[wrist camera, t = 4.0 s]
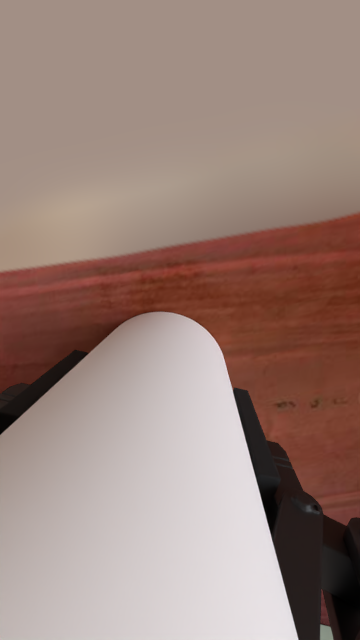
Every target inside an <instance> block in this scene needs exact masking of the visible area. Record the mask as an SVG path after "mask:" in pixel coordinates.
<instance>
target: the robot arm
mask: <svg viewBox="0 0 360 640" xmlns="http://www.w3.org/2000/svg"><path fill="white" fill-rule="evenodd" d="M87 355H88V353H87V352H83V351H79V350H74V351H73V352H72V353H70V354H69V355H68V356H67V357H65V358H64V359H63V360H62V361H60V362H59V363H58V364H56V365H55V366H54V367H53V368H51V369H50V370H49V371H48V372H46V373H45V374H44V375H42V376H41V377H40V378H39V379H37V380H36V381H35V382H34V383H32V384H31V385H28V384H24V383H20V384H17V385H14V386H11V387H9V388H8V389H6V390H5V391H3V392H2V394H0V435H1V434H2V433H3V432H4V431H5V430H6V429H7V428H8V427H10V426H11V425H12V424H13V423H14V422H15V421H16V420H17V419H18V418H19V417H20V416H22V415H23V414H24V413H25V412H26V411H27V410H28V409H29V408H30V407H31V406H32V405H33V404H35V403H36V402H37V401H38V400H39V399H40V398H41V397H42V396H43V395H44V394H45V393H47V392H48V391H49V390H50V389H51V388H52V387H53V386H54V385H55V384H56V383H57V382H58V381H60V380H61V379H62V378H63V377H64V376H65V375H66V374H67V373H68V372H69V371H70V370H72V369H73V368H74V367H75V366H76V365H77V364H78V363H79V362H80V361H81V360H82V359H83V358H85V357H86V356H87ZM233 394H234V398H235V402H236V406H237V409H238V413H239V417H240V421H241V425H242V428H243V432H244V436H245V440H246V443H247V447H248V451H249V455H250V458H251V462H252V466H253V470H254V474H255V477H256V481H257V485H258V489H259V492H260V496H261V500H262V504H263V508H264V511H265V515H266V519H267V523H268V526H269V530H270V534H271V538H272V542H273V545H274V549H275V553H276V557H277V560H278V564H279V568H280V572H281V575H282V579H283V583H284V587H285V591H286V594H287V598H288V602H289V606H290V609H291V613H292V617H293V621H294V625H295V628H296V632H297V636H298V640H320V620H321V589H322V590H323V594H324V599H325V603H326V608H327V612H328V617H329V622H330V626H331V631H332V635H333V640H360V518H357V517H356V518H351V520H350V521H349V523H348V525H347V526H345V525H343V524H341V523H339V522H337V521H335V520H333V519H331V518H329V517H327V516H325V515H324V514H323V511H322V508H321V506H320V505H319V503H318V502H317V501H316V500H315V499H314V498H313V497H312V496H311V495H309V494H307V493H306V492H304V491H303V489H302V487H301V485H300V482H299V480H298V478H297V476H296V474H295V471H294V469H293V467H292V465H291V463H290V462H289V458H288V456H287V454H286V452H285V450H284V449H283V448H282V447H281V446H280V445H279V444H278V443H275V442H271V441H267V440H266V438H265V436H264V433H263V430H262V428H261V425H260V422H259V420H258V417H257V414H256V412H255V409H254V406H253V404H252V401H251V398H250V396H249V393H248V391H247V390H242V389H238V388H234V390H233Z"/></svg>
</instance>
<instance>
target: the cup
mask: <svg viewBox="0 0 360 640" xmlns="http://www.w3.org/2000/svg"><path fill="white" fill-rule="evenodd" d="M0 640H298V636H297V632H296V628H295V625H294V621H293V617H292V613H291V609H290V606H289V602H288V598H287V594H286V591H285V587H284V583H283V579H282V575H281V572H280V568H279V564H278V560H277V557H276V553H275V549H274V545H273V542H272V538H271V534H270V530H269V526H268V523H267V519H266V515H265V511H264V508H263V504H262V500H261V496H260V492H259V489H258V485H257V481H256V477H255V474H254V470H253V466H252V462H251V458H250V455H249V451H248V447H247V443H246V440H245V436H244V432H243V428H242V425H241V421H240V417H239V413H238V409H237V406H236V402H235V398H234V394H233V391H232V387H231V383H230V379H229V375H228V372H227V368H226V364H225V360H224V357H223V354H222V352H221V349H220V347H219V346H218V344H217V342H216V341H215V339H214V338H213V337H212V336H211V334H210V333H209V332H208V331H207V330H206V329H205V328H203V327H202V326H201V325H200V324H198V323H197V322H195V321H193V320H191V319H189V318H187V317H185V316H182V315H179V314H175V313H170V312H150V313H145V314H141V315H138V316H135V317H133V318H131V319H129V320H127V321H125V322H124V323H122V324H121V325H120V326H118V327H117V328H116V329H115V330H114V331H113V332H112V333H111V334H110V335H108V336H107V337H106V338H105V339H104V340H103V341H102V342H101V343H100V344H99V345H98V346H97V347H95V348H94V349H93V350H92V351H91V352H90V353H89V354H88V355H87V356H86V357H85V358H83V359H82V360H81V361H80V362H79V363H78V364H77V365H76V366H75V367H74V368H73V369H72V370H70V371H69V372H68V373H67V374H66V375H65V376H64V377H63V378H62V379H61V380H60V381H58V382H57V383H56V384H55V385H54V386H53V387H52V388H51V389H50V390H49V391H48V392H47V393H45V394H44V395H43V396H42V397H41V398H40V399H39V400H38V401H37V402H36V403H35V404H33V405H32V406H31V407H30V408H29V409H28V410H27V411H26V412H25V413H24V414H23V415H22V416H20V417H19V418H18V419H17V420H16V421H15V422H14V423H13V424H12V425H11V426H10V427H8V428H7V429H6V430H5V431H4V432H3V433H2V434H1V435H0Z"/></svg>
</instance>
